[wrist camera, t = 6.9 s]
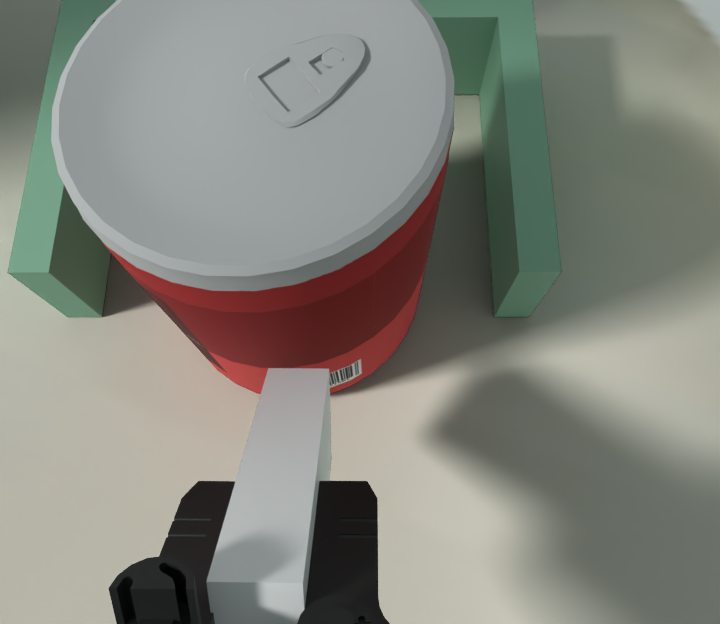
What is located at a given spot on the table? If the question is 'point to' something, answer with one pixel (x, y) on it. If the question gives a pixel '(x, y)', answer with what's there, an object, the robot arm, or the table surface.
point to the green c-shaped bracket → (471, 76)
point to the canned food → (264, 170)
